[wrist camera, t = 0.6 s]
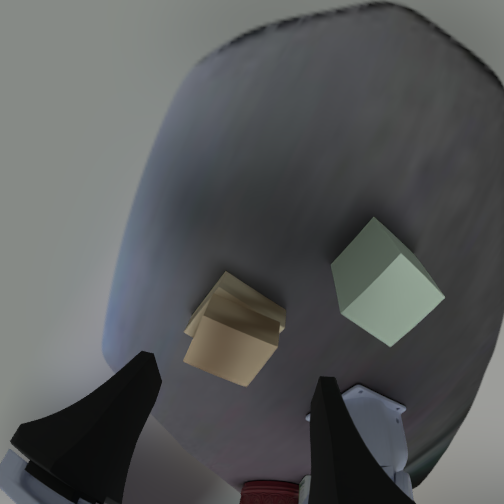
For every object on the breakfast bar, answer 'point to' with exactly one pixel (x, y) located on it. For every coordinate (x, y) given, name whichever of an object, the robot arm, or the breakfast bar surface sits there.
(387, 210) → the breakfast bar surface
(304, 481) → the syrup box
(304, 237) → the breakfast bar surface
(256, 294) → the slab bottom
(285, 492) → the canister
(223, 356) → the slab top
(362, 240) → the block
